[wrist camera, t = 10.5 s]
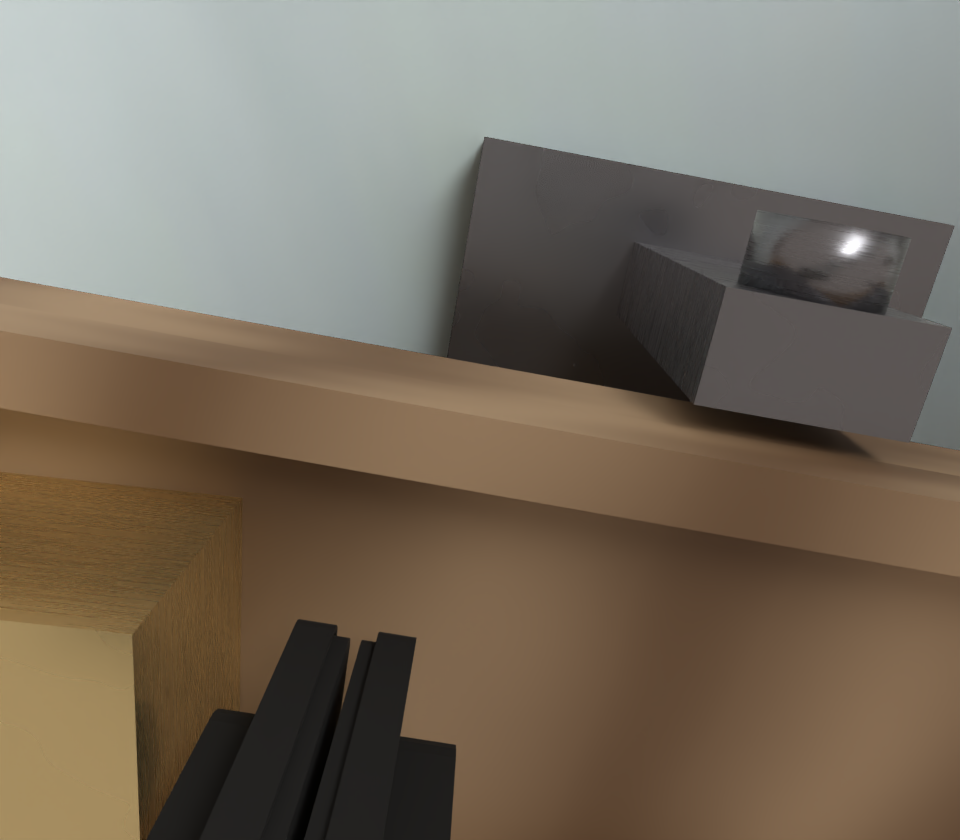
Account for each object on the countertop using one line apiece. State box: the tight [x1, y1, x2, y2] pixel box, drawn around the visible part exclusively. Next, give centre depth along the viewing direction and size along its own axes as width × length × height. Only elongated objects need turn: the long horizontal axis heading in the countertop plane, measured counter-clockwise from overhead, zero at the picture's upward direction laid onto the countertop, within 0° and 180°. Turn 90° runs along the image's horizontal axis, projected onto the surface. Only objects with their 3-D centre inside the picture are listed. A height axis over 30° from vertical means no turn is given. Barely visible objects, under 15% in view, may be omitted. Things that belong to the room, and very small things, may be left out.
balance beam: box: [0, 277, 960, 840], centre depth 11 cm, size 30×9×4 cm, turn 80°
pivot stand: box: [447, 137, 954, 443], centre depth 16 cm, size 10×16×8 cm, turn 170°
